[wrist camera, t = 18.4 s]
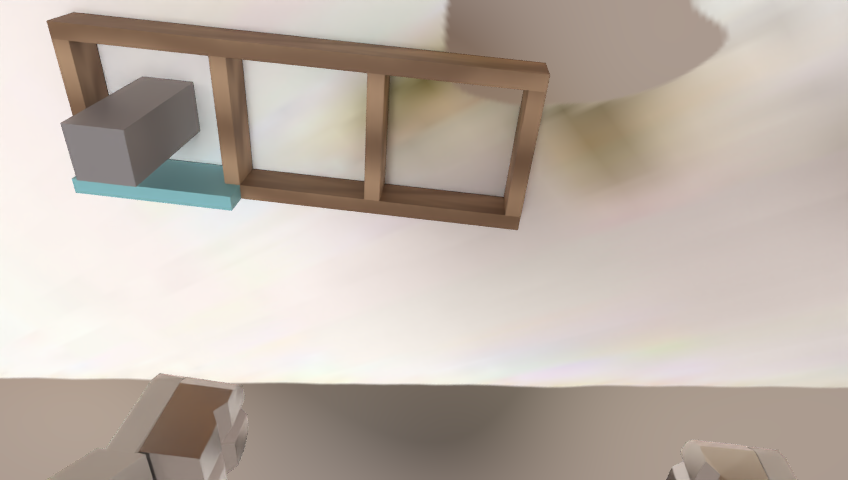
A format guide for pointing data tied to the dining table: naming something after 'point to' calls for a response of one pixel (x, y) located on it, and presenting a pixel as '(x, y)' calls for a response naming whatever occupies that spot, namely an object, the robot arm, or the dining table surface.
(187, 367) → the dining table surface
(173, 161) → the rack
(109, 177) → the tall grey block
